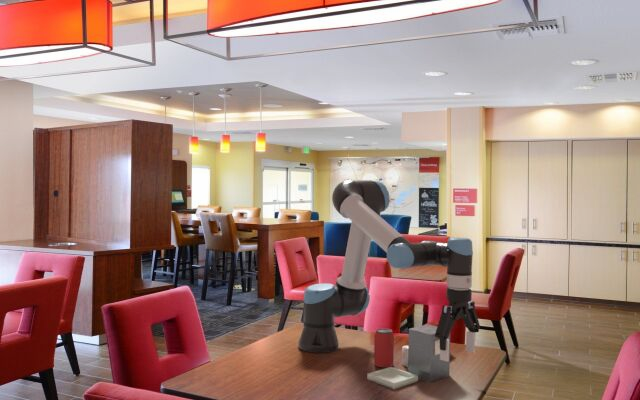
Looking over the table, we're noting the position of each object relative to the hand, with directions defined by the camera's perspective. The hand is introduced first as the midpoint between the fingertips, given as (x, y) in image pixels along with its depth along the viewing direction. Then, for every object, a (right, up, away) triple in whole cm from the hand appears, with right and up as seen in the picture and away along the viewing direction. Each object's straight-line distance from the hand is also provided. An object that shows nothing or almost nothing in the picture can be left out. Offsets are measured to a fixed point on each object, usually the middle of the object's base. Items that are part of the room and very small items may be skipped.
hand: (457, 356), depth 174 cm
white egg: (-12, -8, +19) cm, 24 cm away
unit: (-7, -9, +9) cm, 14 cm away
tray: (-20, -8, +3) cm, 22 cm away
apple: (0, -8, +36) cm, 37 cm away
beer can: (-21, -8, +18) cm, 29 cm away
